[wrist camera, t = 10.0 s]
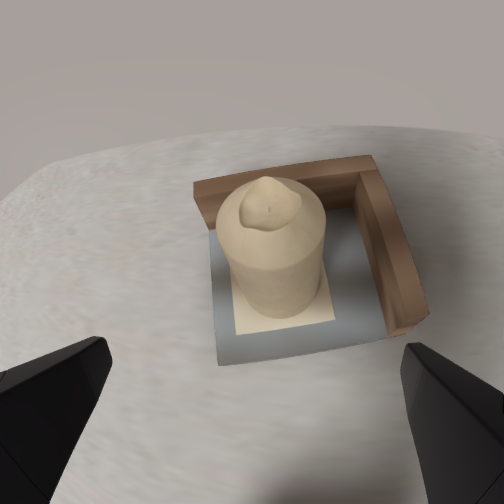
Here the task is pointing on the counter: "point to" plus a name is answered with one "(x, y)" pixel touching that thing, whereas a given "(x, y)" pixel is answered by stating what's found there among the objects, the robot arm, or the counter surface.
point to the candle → (274, 243)
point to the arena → (322, 268)
